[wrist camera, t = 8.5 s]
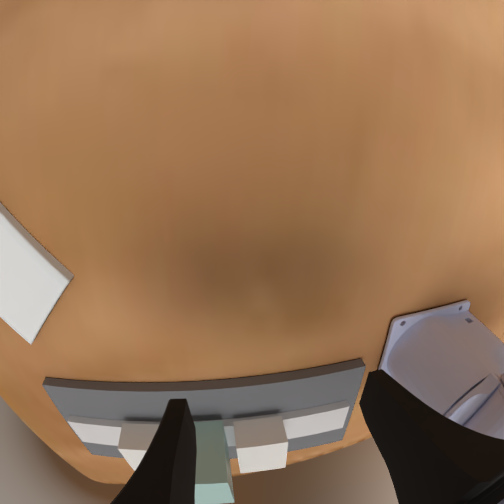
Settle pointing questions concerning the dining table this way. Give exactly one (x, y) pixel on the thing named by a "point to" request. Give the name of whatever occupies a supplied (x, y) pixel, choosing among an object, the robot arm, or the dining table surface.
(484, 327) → the robot arm
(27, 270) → the external hard drive
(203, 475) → the block
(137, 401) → the rail board
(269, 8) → the dining table surface
